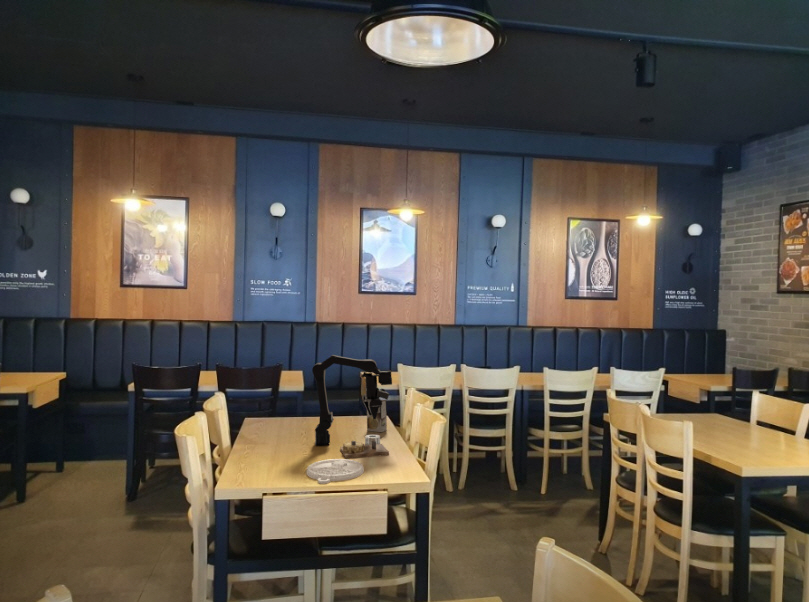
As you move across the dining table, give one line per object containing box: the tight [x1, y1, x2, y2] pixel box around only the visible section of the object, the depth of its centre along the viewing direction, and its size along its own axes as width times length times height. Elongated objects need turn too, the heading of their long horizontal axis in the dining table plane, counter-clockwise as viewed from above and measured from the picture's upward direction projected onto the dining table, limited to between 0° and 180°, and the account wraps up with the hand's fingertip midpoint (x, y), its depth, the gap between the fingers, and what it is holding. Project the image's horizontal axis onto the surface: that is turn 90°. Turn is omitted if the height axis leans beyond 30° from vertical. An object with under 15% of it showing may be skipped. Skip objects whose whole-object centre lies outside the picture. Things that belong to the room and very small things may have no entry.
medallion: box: [306, 458, 365, 485], centre depth 234 cm, size 24×27×2 cm
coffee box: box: [366, 399, 388, 433], centre depth 306 cm, size 9×6×16 cm
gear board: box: [340, 440, 390, 459], centre depth 264 cm, size 20×14×6 cm
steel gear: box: [364, 434, 381, 445], centre depth 279 cm, size 7×7×4 cm
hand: (372, 417), depth 279 cm, fingers open, 9 cm apart
